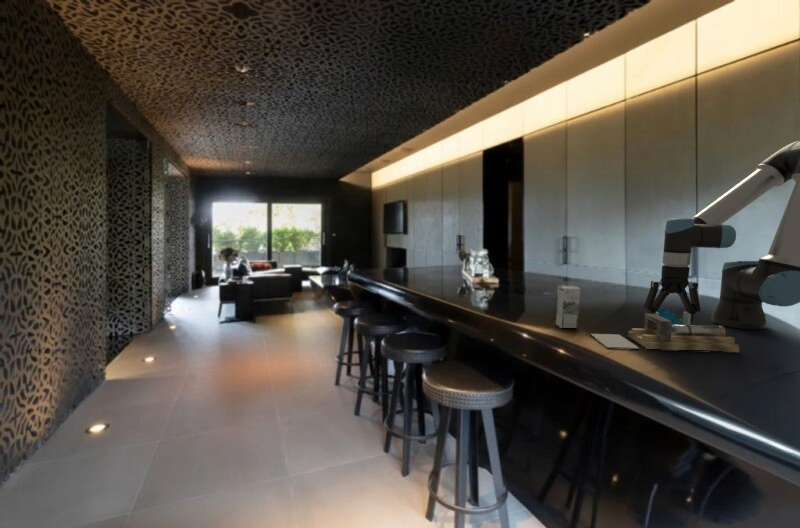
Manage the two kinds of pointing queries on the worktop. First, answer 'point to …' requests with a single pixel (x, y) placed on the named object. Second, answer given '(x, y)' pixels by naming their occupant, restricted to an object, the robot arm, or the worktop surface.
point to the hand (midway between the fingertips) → (669, 331)
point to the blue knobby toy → (669, 316)
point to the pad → (614, 341)
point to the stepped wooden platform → (677, 337)
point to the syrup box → (567, 306)
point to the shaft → (698, 330)
